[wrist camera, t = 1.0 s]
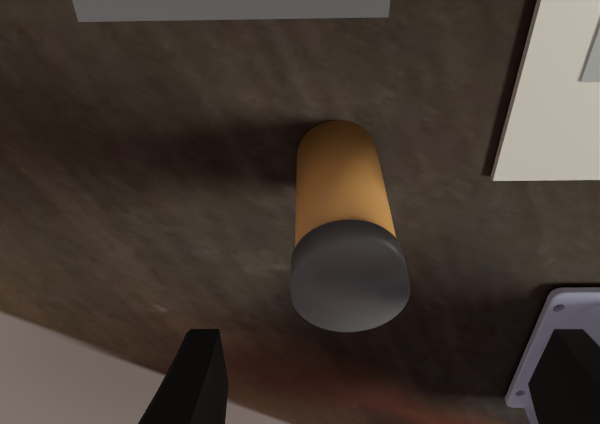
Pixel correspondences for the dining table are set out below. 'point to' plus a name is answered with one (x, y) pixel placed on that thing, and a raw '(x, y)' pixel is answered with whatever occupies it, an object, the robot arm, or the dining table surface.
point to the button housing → (225, 9)
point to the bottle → (344, 233)
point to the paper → (555, 98)
